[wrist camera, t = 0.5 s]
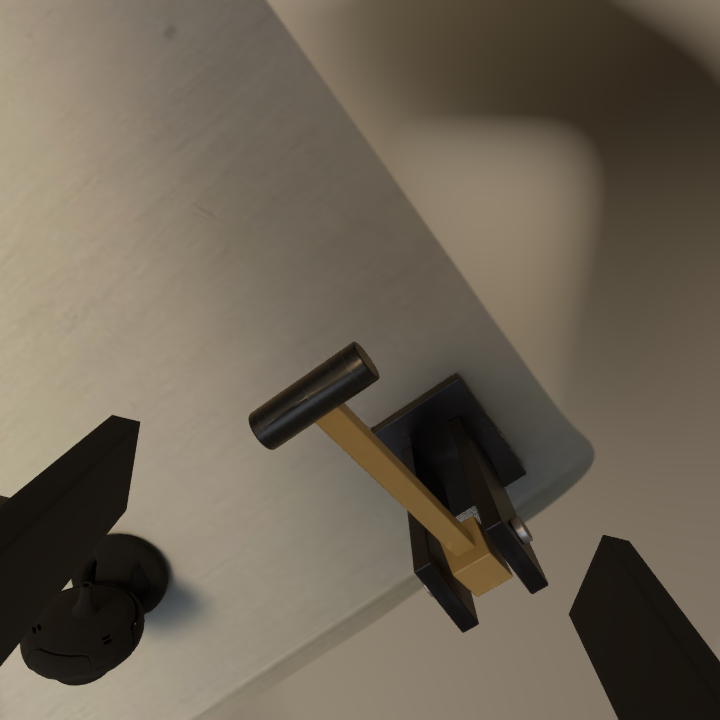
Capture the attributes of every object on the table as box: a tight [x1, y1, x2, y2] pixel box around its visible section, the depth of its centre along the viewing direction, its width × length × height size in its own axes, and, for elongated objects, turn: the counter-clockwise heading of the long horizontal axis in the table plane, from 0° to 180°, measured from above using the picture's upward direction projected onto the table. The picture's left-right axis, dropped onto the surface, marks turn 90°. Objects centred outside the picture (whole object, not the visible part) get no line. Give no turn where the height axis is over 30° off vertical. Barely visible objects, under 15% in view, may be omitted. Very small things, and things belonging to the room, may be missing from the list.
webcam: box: [20, 535, 168, 686], centre depth 40 cm, size 8×8×10 cm
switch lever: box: [249, 342, 513, 597], centre depth 25 cm, size 16×5×2 cm, turn 36°
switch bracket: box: [370, 373, 548, 632], centre depth 34 cm, size 9×8×15 cm
